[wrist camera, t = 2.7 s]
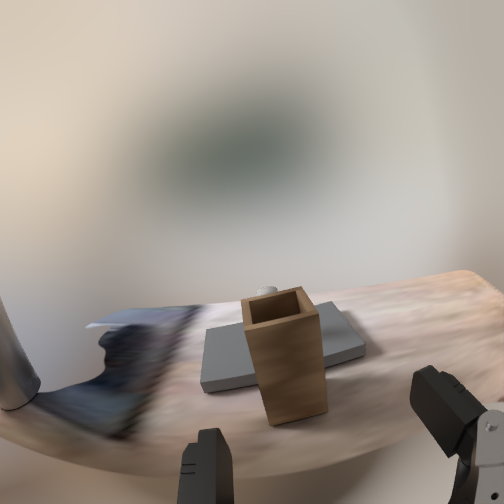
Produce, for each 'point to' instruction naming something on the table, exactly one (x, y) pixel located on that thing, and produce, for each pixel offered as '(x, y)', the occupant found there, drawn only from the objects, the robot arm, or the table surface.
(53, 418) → the table surface
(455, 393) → the robot arm
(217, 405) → the table surface
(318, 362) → the sleeve
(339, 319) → the plate
